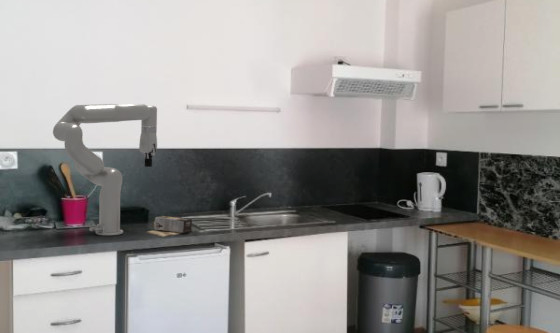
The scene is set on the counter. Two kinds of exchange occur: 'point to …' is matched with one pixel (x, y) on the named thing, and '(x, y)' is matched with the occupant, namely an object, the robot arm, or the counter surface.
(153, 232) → the open book
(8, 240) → the counter surface
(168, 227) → the coffee box
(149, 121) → the robot arm
